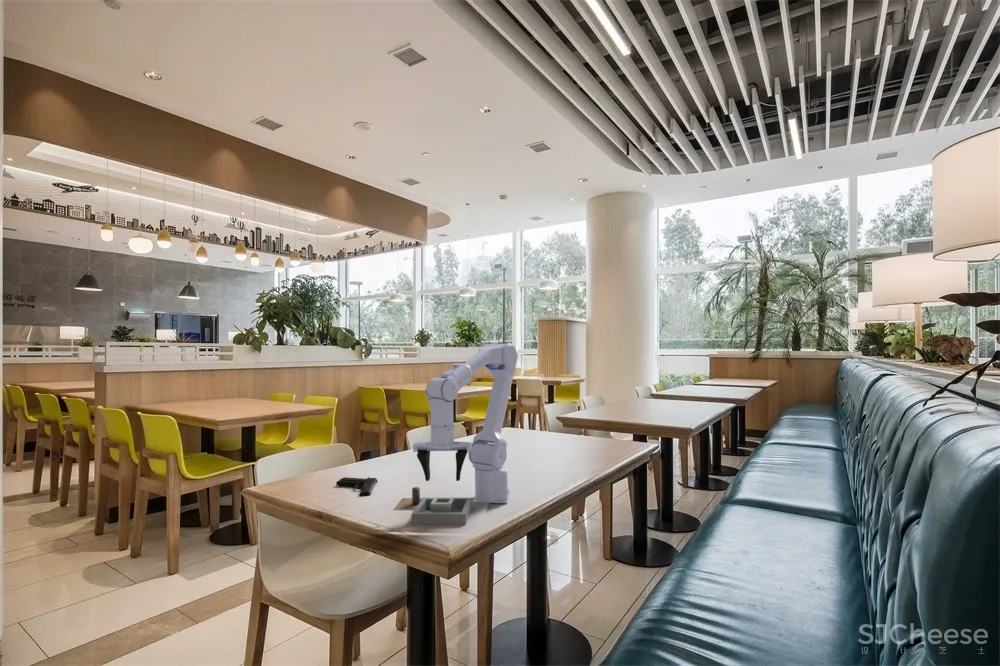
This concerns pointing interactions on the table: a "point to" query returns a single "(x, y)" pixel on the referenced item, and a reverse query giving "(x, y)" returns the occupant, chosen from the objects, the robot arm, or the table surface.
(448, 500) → the collar
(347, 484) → the handgun
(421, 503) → the tray
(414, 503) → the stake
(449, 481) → the table surface
